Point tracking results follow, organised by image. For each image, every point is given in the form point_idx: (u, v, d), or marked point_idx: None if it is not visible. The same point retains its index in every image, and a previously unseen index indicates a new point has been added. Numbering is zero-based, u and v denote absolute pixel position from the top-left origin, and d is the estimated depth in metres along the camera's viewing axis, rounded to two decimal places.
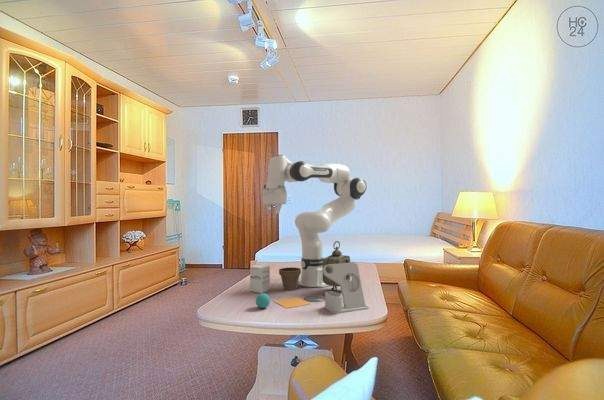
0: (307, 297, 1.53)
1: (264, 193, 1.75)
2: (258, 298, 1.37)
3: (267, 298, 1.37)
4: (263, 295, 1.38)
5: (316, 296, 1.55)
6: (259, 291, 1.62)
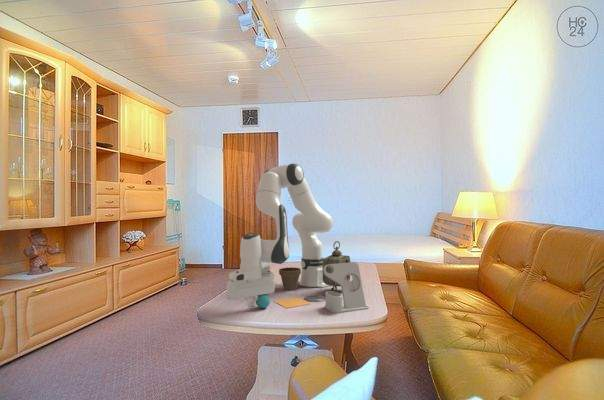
0: (307, 297, 1.53)
1: (234, 286, 1.31)
2: (258, 298, 1.37)
3: (267, 298, 1.38)
4: (263, 295, 1.38)
5: (316, 296, 1.55)
6: None
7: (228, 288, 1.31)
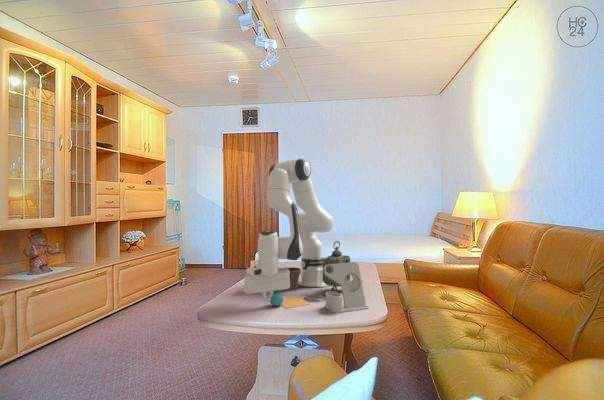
0: (307, 297, 1.53)
1: (252, 280, 1.34)
2: (276, 293, 1.41)
3: (282, 299, 1.41)
4: (281, 294, 1.42)
5: (316, 296, 1.55)
6: None
7: (246, 282, 1.35)
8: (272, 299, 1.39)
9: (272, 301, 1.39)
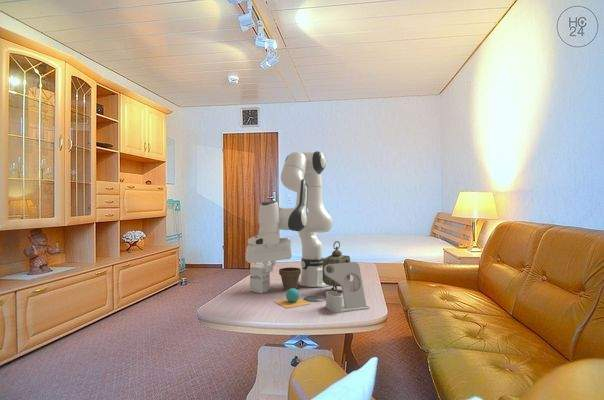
0: (307, 297, 1.53)
1: (254, 250, 1.35)
2: None
3: (293, 298, 1.44)
4: (293, 301, 1.45)
5: (316, 296, 1.55)
6: (259, 291, 1.62)
7: (247, 252, 1.36)
8: None
9: None
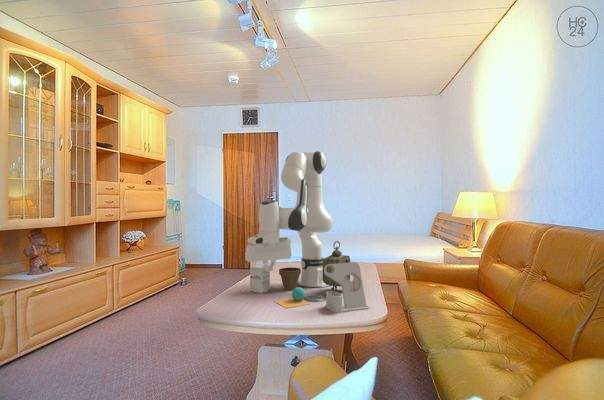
0: (307, 297, 1.53)
1: (253, 249, 1.35)
2: (297, 300, 1.47)
3: (299, 293, 1.46)
4: (296, 296, 1.46)
5: (316, 296, 1.55)
6: (259, 291, 1.62)
7: (247, 251, 1.36)
8: None
9: None
